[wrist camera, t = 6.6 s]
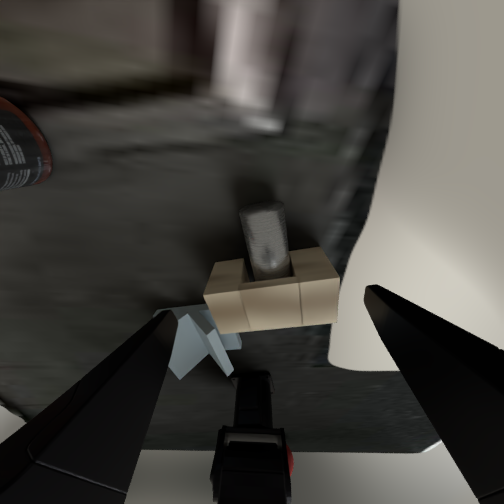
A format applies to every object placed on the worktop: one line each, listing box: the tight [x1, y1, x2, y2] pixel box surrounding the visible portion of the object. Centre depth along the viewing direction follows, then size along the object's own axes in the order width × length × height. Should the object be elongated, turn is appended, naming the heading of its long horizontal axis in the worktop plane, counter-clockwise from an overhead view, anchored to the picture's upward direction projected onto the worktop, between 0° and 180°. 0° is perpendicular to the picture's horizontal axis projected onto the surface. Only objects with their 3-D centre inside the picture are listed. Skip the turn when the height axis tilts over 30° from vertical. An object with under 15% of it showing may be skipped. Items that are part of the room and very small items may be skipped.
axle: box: [239, 200, 291, 282], centre depth 16 cm, size 11×4×4 cm, turn 11°
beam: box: [203, 247, 340, 334], centre depth 17 cm, size 5×10×5 cm, turn 101°
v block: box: [153, 304, 242, 380], centre depth 22 cm, size 8×9×4 cm
